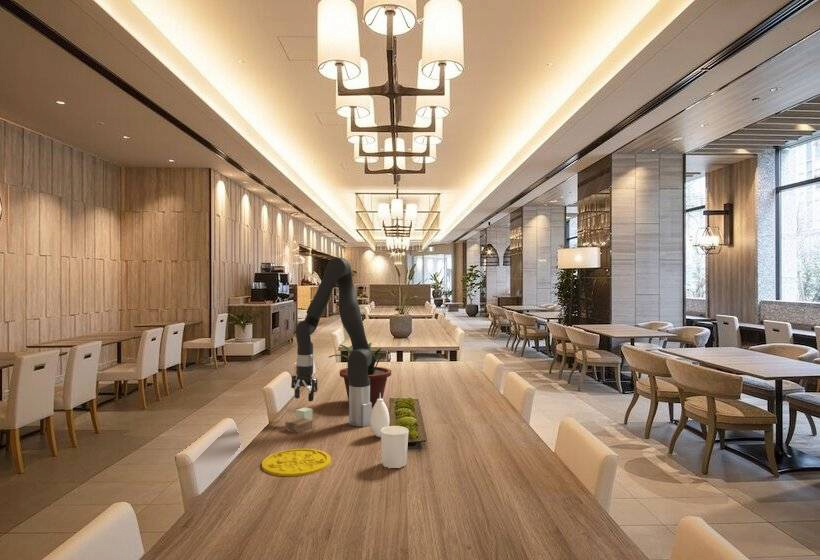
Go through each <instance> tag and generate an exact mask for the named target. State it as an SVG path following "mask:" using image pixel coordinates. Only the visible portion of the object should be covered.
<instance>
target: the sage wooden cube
mask: <svg viewBox="0 0 820 560" xmlns="http://www.w3.org/2000/svg"><path fill="white" fill-rule="evenodd" d="M295 411H296V418H298V417H301V418H306V419H310V420H313V409H312V408H308V407H302V408H299V409H298V408H297V409H296V410H295Z"/></svg>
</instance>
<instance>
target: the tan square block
mask: <svg viewBox="0 0 820 560" xmlns="http://www.w3.org/2000/svg"><path fill="white" fill-rule="evenodd" d="M313 421H314V420H313V419H312V420H310V419H306V418H301V417H298V418H291V419H289V420H286V421H285V429H284V430H285V431H286V430H289V431H288V432H290V431H292V432H291V433H294V432H296V433H295V434H298V433H299V434H301V432H302V433H304V432H303V431H305V432H307V431H306V430H308V431H310V430H309V429H311V430H313V429H312V428H313V425H314V424H313Z"/></svg>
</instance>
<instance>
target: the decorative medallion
mask: <svg viewBox="0 0 820 560" xmlns="http://www.w3.org/2000/svg"><path fill="white" fill-rule="evenodd" d="M331 463H332V457H331V455H330V454H329V453H327V452H325V451H323V450H318V449H313V448H292V449H286V450H282V451H281V450H280V451H278V452H274V453H272V454H270V455H268V456H266V457H265V458H264V459H263V460H262V462H261V469H262V470H263V471H264V472H266V473H267V474H269V475H272V476H277V477H300V476H301V477H302V476H308V475H312V474H315V473H316V474H317V473H318V472H321V471H323V470H325V469H327V468H328V467H329V466H330V465H331Z"/></svg>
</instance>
